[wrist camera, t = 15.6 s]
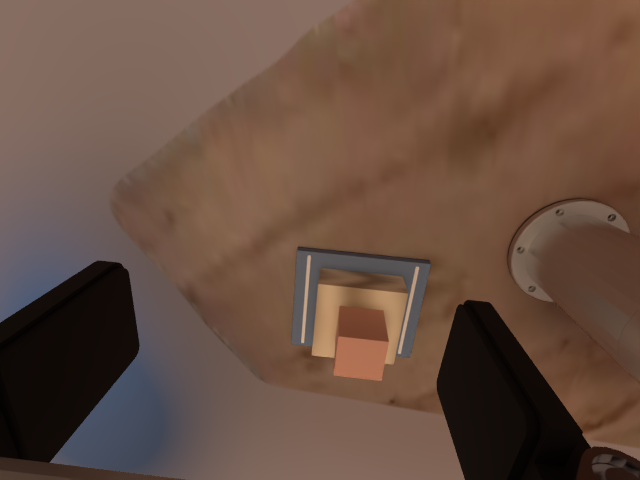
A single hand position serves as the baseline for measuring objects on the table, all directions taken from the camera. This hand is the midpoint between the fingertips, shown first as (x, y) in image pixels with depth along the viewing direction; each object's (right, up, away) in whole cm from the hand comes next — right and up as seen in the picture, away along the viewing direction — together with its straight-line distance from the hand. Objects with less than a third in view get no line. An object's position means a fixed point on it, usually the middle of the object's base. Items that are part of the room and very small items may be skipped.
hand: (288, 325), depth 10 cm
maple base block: (+6, -6, +34) cm, 35 cm away
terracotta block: (+5, -8, +30) cm, 31 cm away
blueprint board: (+6, -6, +35) cm, 36 cm away
